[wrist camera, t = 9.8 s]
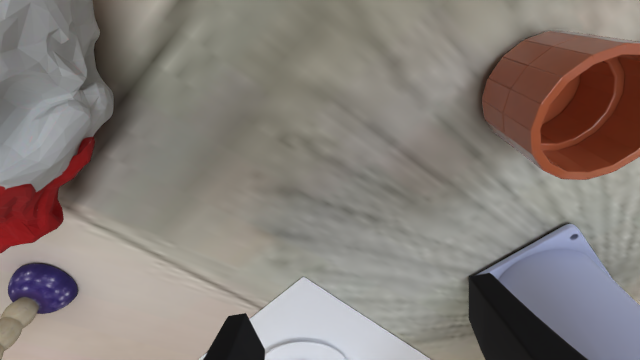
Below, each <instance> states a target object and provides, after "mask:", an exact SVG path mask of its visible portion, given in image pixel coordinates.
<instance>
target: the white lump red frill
mask: <svg viewBox="0 0 640 360" xmlns="http://www.w3.org/2000/svg"><path fill="white" fill-rule="evenodd" d="M99 34H100V30H99V28H98V25H97V23H96V20H95V16H94V9H93V2H92V0H0V253H2V252H4V251H5V250H6V249H8V248H9V247H11V246H15V245H19V244H26V243H33V242H35V241H36V240H38V239H39V238H41V237H42V236H44V235H46V234H48V233H49V232H51V231H53V230H55V229H57V228H58V227H59V226H60V225H61V224H62V222H63V219H64V218H63V211H62V207H61V205H60V203H59V201H58V199H57V197H58V188H59V187H60V186H62V185H63V184H65V183H67V182H68V181H70V180H72V179H73V178H74V177H75V176H76V175H77V173H78V172H79V171H81V169H82V168H83V166H84V165H86V164H87V163H89V162H90V159H91V155H92V152H93V148H94V144H95V140H94V137H93V135H94V134H95V133H96V131H97V130H98V129H99V128H100V126H101V125H102V124H104V123H105V122H106V121H107V120H108V119H109V118H111V116H112V114H113V96H114V95H113V93H112V91H111V89H110V88H109V87H108V86H107V85H106V84H105V83H104V81H103V80H102V79H101V77H100V75H99V73H98V71H97V70H96V64H95V57H94V45H95V42H96V40H97V39H98V37H99Z"/></svg>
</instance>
